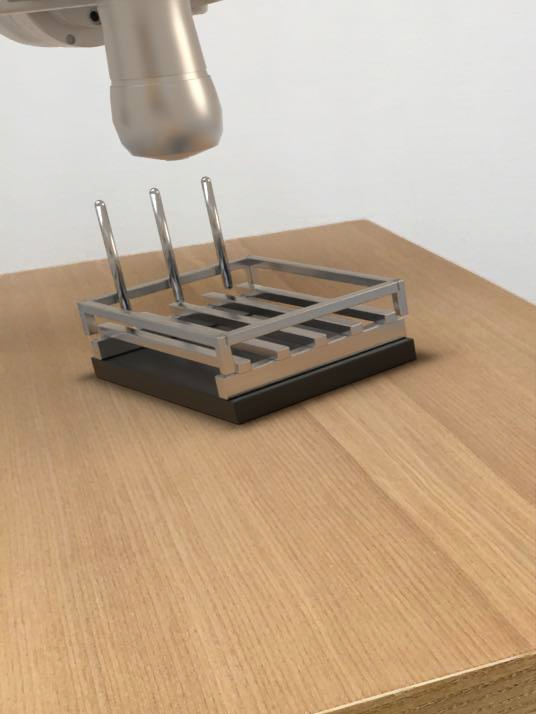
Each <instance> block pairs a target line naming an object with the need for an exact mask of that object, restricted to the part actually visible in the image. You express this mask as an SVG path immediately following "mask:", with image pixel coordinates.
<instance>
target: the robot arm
mask: <svg viewBox="0 0 536 714" xmlns="http://www.w3.org/2000/svg"><path fill="white" fill-rule="evenodd" d="M222 1H223V0H190V6H191V12H192V17H193V16H198V15H204V14H206V13H207V12H208V11H209V6H208V5H210V4H214V3H219V2H222ZM97 7H98V5H97V2H96V0H0V35H1V36H3V37H5V38H6V39H8V40H11V41H13V42H14V43H15V42H16V43H17V44H21V45H25V46H31V47H38V48H73V49H74V48H98V47H103V46H105V44H104V38H103V31H102V25H101V21H100V18H99V14H98V10H97Z"/></svg>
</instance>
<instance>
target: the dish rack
mask: <svg viewBox="0 0 536 714" xmlns="http://www.w3.org/2000/svg"><path fill="white" fill-rule="evenodd" d="M200 184H201V189H202V193H203V198H204V204H205V207H206V212H207V216H208V221H209V225H210V229H211V230H210V231H211V235H212V239H213V244H214V249H215V253H216V258H217V262H218V263H213V264H210V265H206V266H202V267H199V268H196V269H192V270H189V271H188V270H187V271H184V272H181V273H179V269H178V265H177V262H176V255H175V253H174V248H173V243H172V239H171V235H170V231H169V226H168V222H167V217H166V214H165V209H164V205H163V201H162V196H161V192H160V190H159V188H157V187H152V188H150V189H149V192H148V195H149V198H150V199H149V200H150V202H151V207H152V212H153V215H154V219H155V224H156V228H157V232H158V237H159V241H160V245H161V249H162V255H163V258H164V262H165V267H166V271H167V275H168V276H167V277H162V278H159V279H155V280H152V281H148V282H145V283H141V284H137V285H134V286H130V287H127V285H126V282H125V277H124V274H123V273H124V272H123V269H122V265H121V260H120V257H119V252H118V249H117V246H116V245H117V244H116V241H115V237H114V233H113V230H112V225H111V221H110V218H109V214H108V210H107V206H106V205H107V204H106V203H105V201H104V200H101V199H97V200H95V202H94V206H93V207H94V209H95V213H96V217H97V221H98V225H99V229H100V233H101V236H102V240H103V244H104V249H105V253H106V256H107V261H108V264H109V268H110V272H111V276H112V280H113V284H114V289H115V291H111V292H108V293H104V294H101V295H96V296H93V297H89V298H85V299H81V300H78V301H76V306H77V310H78V313H79V318H80V321H81V324H82V328H83V332H84V335H85V336H88V337H91V336H95V335H97V334H99V335H100V336H97V337H94V338H91V339H90V344H91V347H92V351H93V355H94V356H92V357H90V360H91V364H92V368H93V372H94V374H95V377H97V378H100V379H103V380H105V381H109V382H112V383H114V384H118V385H121V386H123V387H126V388H130V389H133V390H135V391H138V392H142V393H145V394H147V395H149V396H152V397H153V396H154V397H156V398H159V399H162V400H165V401H168V402H172V403H174V404H177V405H181V406H183V407H186V408H189V409H192V410H195V411H198V412H201V413H204V414H207V415H210V416H212V417H215V418H219V419H222V420H225V421H228V422H230V423H234V424H237V425H240V424H243V423H245V422H249V421H251V420H253V419H257V418H259V417H261V416H264V415H267V414H270V413H272V412H276V411H278V410H281V409H284V408H286V407H289V406H292V405H294V404H297V403H300V402H302V401H305V400H307V399H311V398H314V397H316V396H319V395H322V394H324V393H327V392H329V391H333V390H335V389H337V388H341V387H343V386H346V385H348V384H351V383H354V382H357V381H360V380H362V379H364V378H367V377H370V376H373V375H376V374H378V373H382V372H383V371H386V370H389V369H392V368H394V367H398V366H400V365H403V364H405V363H409V362H410V361H413V360H416V359H417V352H416V346H415V345H416V344H415V339H414V338H412V337H407V329H406V321H405V318H404V316H407V315H409V307H408V300H407V294H406V287H405V286H406V285H405V280H404V279H402V278H397V277H389V276H384V275H378V274H373V273H365V272H361V271H360V272H359V271H352V270H346V269H342V268H341V269H340V268H334V267H330V266H329V267H328V266H322V265H316V264H309V263H304V262H297V261H291V260H285V259H279V258H273V257H266V256H261V255H255V254H247V255H243V256H240V257H236V258H232V259H228V254H227V248H226V244H225V240H224V235H223V229H222V225H221V221H220V216H219V212H218V207H217V202H216V198H215V194H214V193H215V192H214V187H213V184H212V180H211V178H210V177H209V176H202V177H201V179H200ZM241 269H244V270H245V271H244V272H245V275H246V280H247V282H242V283H238V284H235V291H236V294H237V295H230V294H226V293H221V292H216V291H211V292H210V291H209V292H206V293H204V294H202V298H203V303H204V304H206V305H198V304H193V303H189V302H185V295H184V291H183V286H185V285H187V284H190V283H196V282H198V281H202V280H205V279H209V278H212V277H216V276H219V275H220V276H221V282H222V286H223V288H224V289H225V290H226V291H231V290H232V289H233V288H234V282H233V278H232V273H231V272H234V271H237V270H241ZM258 269H262V270H263V269H264V270H269V271H273V272H281V273H284V274H285V273H286V274H292V275H298V276H303V277H310V278H316V279H321V280H327V281H332V282H337V283H343V284H349V285H355V286H361V287H366V288H363V289H359V290H356V291H353V292H349V293H346V294H344V295H340V296H336V297H333V298H328V297H324V296H319V295H313V294H307V293H302V292H297V291H292V290H286V289H282V288H277V287H270V286H265V285H261V280H260V275H259V270H258ZM170 289H171V292H172V296H173V300H174V302H172V303H169V304H168V307H169V313H170V315H169V316H165V315H160V314H157V313H153V312H149V311H141V312H137V311H133V309H132V305H131V300H134V299H137V298H140V297H145V296H148V295H152V294H155V293H158V292H162V291H166V290H170ZM390 295H391V300H392V306H393V310H391V309H386V308H382V307H381V308H380V307H376V306H371V305H366V303H368V302H371V301H374V300H378V299H380V298H384V297H387V296H390ZM271 302H275V303H280V304H285V305H290V306H295V307H299V309H298V308H294V307H290V306H284V305H279V304H274V303H271ZM364 303H365V304H364ZM116 304H119V307H117V306H113V305H116ZM330 314H334V315H338V316H343V317H347V318H352V319H353V318H354V319H358V320H363V321H368V322H371V323H368V324H366V325H363V323H362V321H357V320H351V319H346V318H341V317H337V316H332V315H330ZM95 317H99V318H103V319H106V320H110V321H113V322H110V321H107V322H103V323H100V324H97V322H96V319H95ZM115 322H117V323H115ZM118 323H121V324H118ZM123 324H125V325H123ZM127 325H129V326H127ZM130 326H131V327H130Z"/></svg>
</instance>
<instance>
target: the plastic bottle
mask: <svg viewBox="0 0 536 714" xmlns="http://www.w3.org/2000/svg"><path fill="white" fill-rule="evenodd" d="M96 2H97V5H98V7H97V10H98V14H99V18H100V21H101V25H102V31H103V38H104V44H105V45H104V48H105V49H104V50H105V57H106V63H107V69H108V76H109V80H110V82H111V83H110V86H109V102H110V112H111V119H112V121H111V122H112V124H113V126H114V129H115V131H116V134H117V137H118V139H119V141H120V144H121V145H122V146H123V147H124V148H125V149H126V151H127V152H128V153H129V154H130V155H131V156H133V157H138V158H145V159H150V160H151V159H152V160H159V161H165V162H173V161H175V162H176V161H182V160H187V159H189V158H191V157H193V156H197V155H199V154H201V153H203V152H206V151H207V150H211V149H213V148H215V147H217V146H219V143H220V140H221V138H222V136H223V133H224V125H223V124H224V123H223V120H224V119H223V106H222V105H221V101H220V98H219V95H218V92H217V89H216V86H215V83H214V81H213V78H212V76H211V75H210V74H209V73H208V71H207V69H208V68H207V64H206V60H205V56H204V53H203V50H202V45H201V42H200V38H199V35H198V32H197V28H196V25H195V21H194V18H193V16H192V12H191V6H190V0H96Z"/></svg>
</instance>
